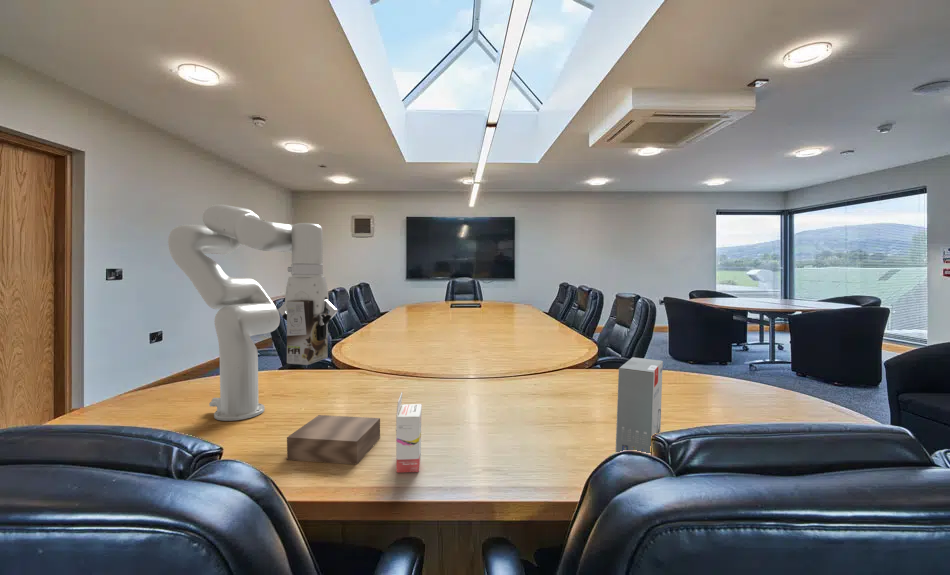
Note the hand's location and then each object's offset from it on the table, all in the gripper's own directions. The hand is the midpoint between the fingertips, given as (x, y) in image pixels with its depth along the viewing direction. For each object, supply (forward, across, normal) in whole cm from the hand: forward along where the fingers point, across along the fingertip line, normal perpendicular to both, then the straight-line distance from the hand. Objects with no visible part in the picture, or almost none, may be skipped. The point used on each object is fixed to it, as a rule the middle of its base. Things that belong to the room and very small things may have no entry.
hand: (308, 339), depth 107 cm
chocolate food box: (+6, 0, 0) cm, 6 cm away
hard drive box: (+23, +84, 0) cm, 87 cm away
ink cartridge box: (+24, +32, -16) cm, 43 cm away
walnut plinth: (+23, +13, -11) cm, 29 cm away
